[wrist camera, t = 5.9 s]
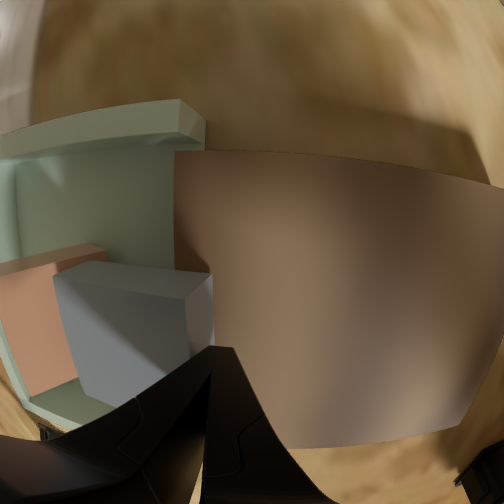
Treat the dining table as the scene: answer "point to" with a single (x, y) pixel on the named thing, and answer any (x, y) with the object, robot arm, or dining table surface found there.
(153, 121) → the tray
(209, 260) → the plate
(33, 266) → the tile terracotta
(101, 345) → the tile slate
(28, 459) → the robot arm
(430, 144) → the dining table surface
